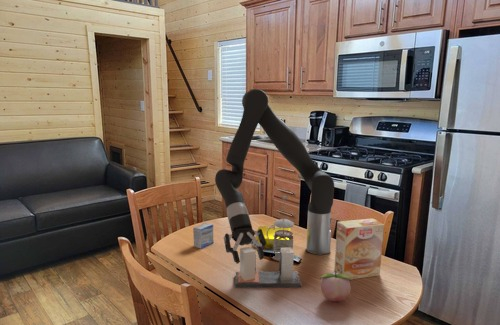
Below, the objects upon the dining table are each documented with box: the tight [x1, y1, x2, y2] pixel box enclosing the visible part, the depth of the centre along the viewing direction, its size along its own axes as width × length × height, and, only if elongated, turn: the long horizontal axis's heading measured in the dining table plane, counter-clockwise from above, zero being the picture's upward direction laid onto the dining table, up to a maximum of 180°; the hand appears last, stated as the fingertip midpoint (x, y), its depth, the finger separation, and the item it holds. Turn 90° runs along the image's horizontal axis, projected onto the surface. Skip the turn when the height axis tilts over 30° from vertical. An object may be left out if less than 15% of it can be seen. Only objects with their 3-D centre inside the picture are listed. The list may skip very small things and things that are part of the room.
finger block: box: [239, 246, 257, 281], centre depth 120 cm, size 4×4×10 cm
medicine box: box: [192, 222, 215, 250], centre depth 150 cm, size 8×4×9 cm, turn 143°
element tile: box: [255, 225, 292, 249], centre depth 156 cm, size 15×15×5 cm
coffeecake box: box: [333, 217, 385, 280], centre depth 126 cm, size 15×7×20 cm, turn 105°
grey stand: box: [234, 248, 302, 289], centre depth 120 cm, size 22×8×12 cm, turn 92°
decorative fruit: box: [319, 271, 352, 302], centre depth 109 cm, size 9×8×10 cm
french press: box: [267, 195, 295, 262], centre depth 139 cm, size 10×12×25 cm
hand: (250, 260), depth 119 cm, fingers open, 8 cm apart
